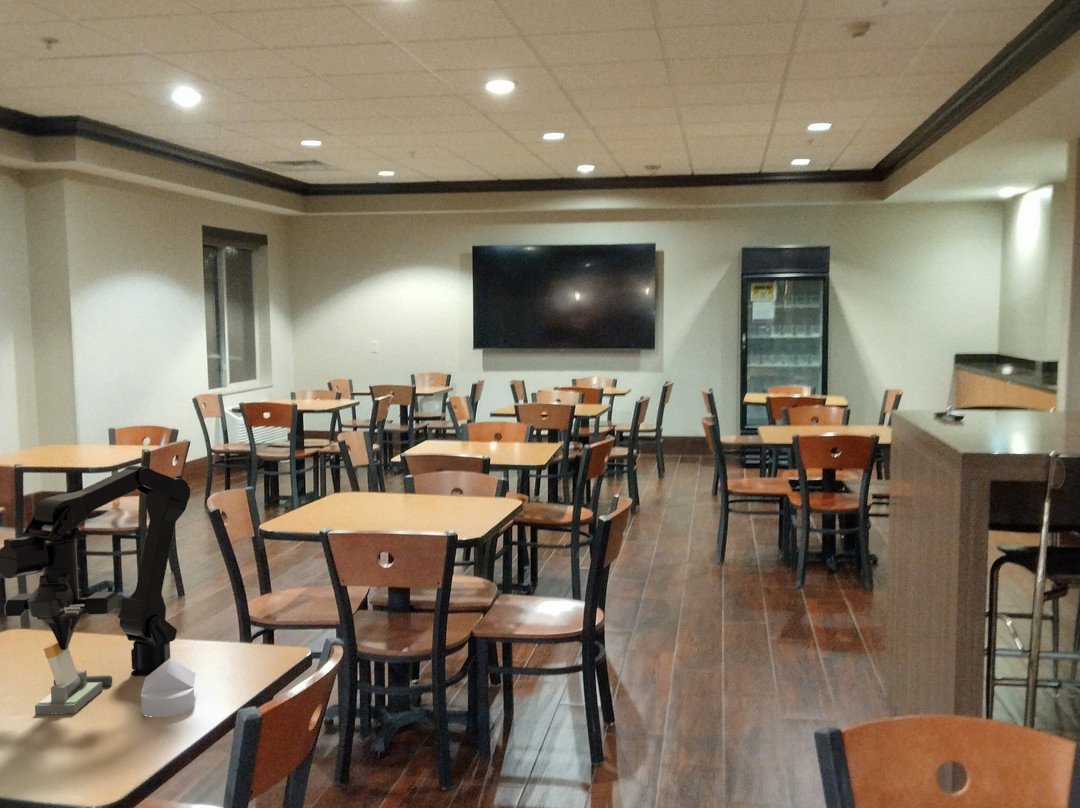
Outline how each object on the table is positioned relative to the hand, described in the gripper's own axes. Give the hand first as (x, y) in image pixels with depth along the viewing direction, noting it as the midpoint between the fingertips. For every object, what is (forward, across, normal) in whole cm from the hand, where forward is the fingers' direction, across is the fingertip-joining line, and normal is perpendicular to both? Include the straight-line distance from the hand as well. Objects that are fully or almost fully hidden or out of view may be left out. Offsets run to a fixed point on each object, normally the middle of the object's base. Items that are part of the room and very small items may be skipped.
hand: (64, 649), depth 185 cm
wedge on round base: (+10, +20, -2) cm, 22 cm away
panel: (+10, 0, 0) cm, 10 cm away
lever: (+7, +1, 0) cm, 7 cm away
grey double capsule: (+10, 0, +10) cm, 14 cm away
